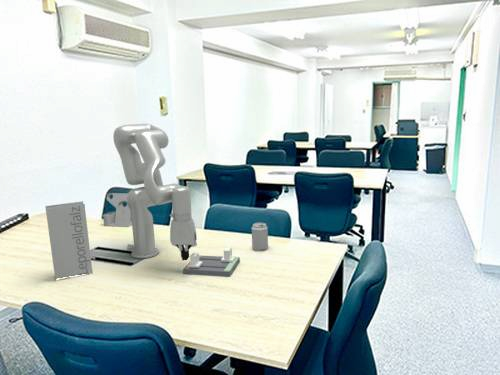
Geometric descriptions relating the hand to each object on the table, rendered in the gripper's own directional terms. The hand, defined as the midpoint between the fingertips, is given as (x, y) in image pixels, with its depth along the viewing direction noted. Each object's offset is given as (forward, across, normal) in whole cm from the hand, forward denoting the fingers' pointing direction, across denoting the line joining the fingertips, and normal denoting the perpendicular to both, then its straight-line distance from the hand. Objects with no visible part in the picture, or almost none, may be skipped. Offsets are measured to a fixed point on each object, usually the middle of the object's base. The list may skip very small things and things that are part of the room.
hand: (185, 259), depth 174 cm
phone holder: (+5, -66, +60) cm, 89 cm away
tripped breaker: (+3, +4, 0) cm, 5 cm away
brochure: (+5, -45, -12) cm, 47 cm away
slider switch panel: (+5, +10, +4) cm, 12 cm away
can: (+5, +26, +30) cm, 39 cm away
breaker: (+3, +16, +8) cm, 18 cm away
